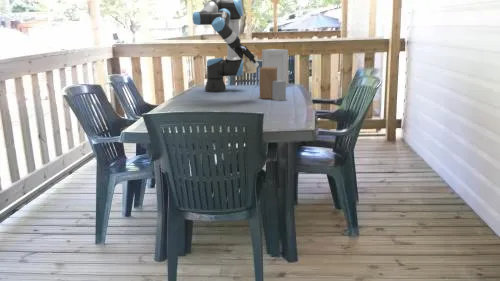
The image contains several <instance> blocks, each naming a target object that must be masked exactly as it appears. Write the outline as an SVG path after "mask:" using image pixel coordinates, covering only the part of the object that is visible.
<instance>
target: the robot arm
mask: <svg viewBox="0 0 500 281" xmlns="http://www.w3.org/2000/svg"><path fill="white" fill-rule="evenodd" d="M242 2H243V1H242V0H208V1H206V3H205V4H204V6H203V8H202V9H201V10H200V11H194V12H193V13H192V23H193V25H195V26H210V25H211V28H212V29H214V31H215V32H216V34H218V36H220V37H221V39H222V40H223V41H224V43H226V45H227V47H226V49H227V51H226V52H227V55H226V56H225V59H224V58H223V57H215V58H210V59H207V61H206V82H205V87H204V91H205V92H208V93H209V92H210V93H221V92H223V93H224V92H226V91H227V86H226V84H225V80H224V77H242V76H243V74H244V72H243V54H244V55H245V56H246V57H247V58H249V59H250V62H251V63H252V64H253V65H254V66H255V67H256V69H257V68H258V67H259V65H260V63H259V62H258V61H257V59H256V60H255V59H254V57H255V56H254V55H253V54H252V53H251V52H252V51H250V50H249V48H248V47H247V46H246V45H243V44H242V43H241V39H240V20H241V19H242V16H243V15H244V8H243V7H244V6H243V3H242Z"/></svg>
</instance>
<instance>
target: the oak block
mask: <svg viewBox="0 0 500 281" xmlns="http://www.w3.org/2000/svg"><path fill="white" fill-rule="evenodd" d="M250 52H251V53H252V54H253V55H254V56H255V57H254V59H255V60H256V61H257V52H252V51H250ZM242 60H243V74H256V73H257V68H256V67H255V66H254V65H253V64H252V63H251V62H250V59H249V58H247V57H246V56H245V55H244V54H243V59H242Z"/></svg>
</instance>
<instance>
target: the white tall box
mask: <svg viewBox="0 0 500 281" xmlns="http://www.w3.org/2000/svg"><path fill="white" fill-rule="evenodd" d="M261 54H262V56H261V60H262V61H261V62H262V64H261V68H262V67H277V81H278V80H281V81H286V88H288V78H289V77H288V76H289V75H288V71H289V70H288V66H289V63H288V62H289V50H288V49H279V48H268V49H262V50H261Z"/></svg>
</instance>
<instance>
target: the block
mask: <svg viewBox="0 0 500 281" xmlns="http://www.w3.org/2000/svg"><path fill="white" fill-rule="evenodd" d="M273 81H277V67H262V66H261V67H260V68H259V99H261V100H272V86H273Z"/></svg>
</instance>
